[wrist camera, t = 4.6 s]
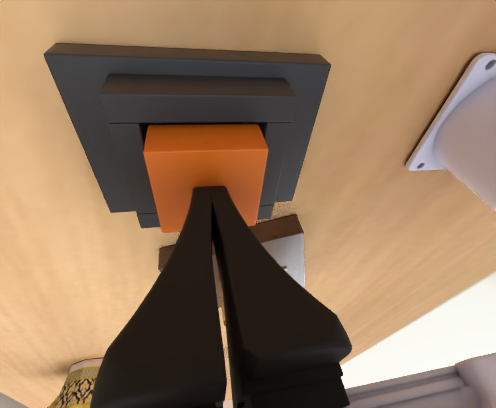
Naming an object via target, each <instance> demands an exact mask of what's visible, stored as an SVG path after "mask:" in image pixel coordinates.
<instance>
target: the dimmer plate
mask: <svg viewBox="0 0 496 408" xmlns="http://www.w3.org/2000/svg"><path fill="white" fill-rule="evenodd" d="M248 227H249V228H250V230H251V231H252V232H253V234H254V235H255V236H256V238H257V239H258V240H259V242H260V243H261V244H262V245H263V247H264V248H265V249H266V250H267V251H268V253H269V254H270V255H271V256H272V257H273V258H274V259H275V260H276V262H277V263H278V264H279V265H280V266H281V267H282V268H283V269H284V270H285V271H286V272H287V273H288V274H289V275H290V276H291V277H292V278H293V279H294V280H295V281H296V282H297V283H299V284H300V285H301V286H302V287H304V286H305V268H304V232H303V229H302V227H301V225H300V222H299V220H298V217H297V215H292V216H288V217H284V218H280V219H276V220H272V221H268V222H264V223H260V224H256V225H254V226H248ZM174 247H175V245H172V246H168V247H164V248H160V251H159V265H158V269H159V270H160V272H162V270H163V268H164V266H165V264H166V263H167V261H168V259H169V257H170V255H171V253H172V251H173V249H174ZM212 259H213V268H214V277H215V286H216V294H217V303H218V308H219V307H222V306H221V296H220V287H219V281H220V276H219V271H218V266H217V261H216V256H215V250H214V245H213V240H212Z"/></svg>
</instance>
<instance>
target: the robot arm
mask: <svg viewBox="0 0 496 408" xmlns="http://www.w3.org/2000/svg"><path fill="white" fill-rule="evenodd" d="M406 168H407V169H408V170H409V171H419V170H440V169H447V170H448V171H449V172H451V173H452V174H453V175H454V176H455V177H456V178H457V179H458V180H460V181H461V182H462V183H463V184H464V185H465V186H466V187H468V188H469V189H470V190H471V191H472V192H473V193H474V194H475V195H477V196H478V197H479V198H480V199H481V200H482V201H483V202H485V203H486V204H487V205H488V206H489V207H490V208H491V209H492V210H494V211H495V212H496V53H481V54H479V55H477V56H476V57H475V58H474V59H473V60H472V61H471V63H470V64H469V66H468V68H467V69H466V71H465V72H464V74H463V75H462V77H461V78H460V80H459V82H458V83H457V85H456V86H455V88H454V89H453V91H452V93H451V94H450V96H449V97H448V99H447V100H446V102H445V104H444V105H443V107H442V108H441V110H440V111H439V113H438V115H437V116H436V118H435V119H434V121H433V122H432V124H431V126H430V127H429V129H428V130H427V132H426V133H425V135H424V136H423V138H422V140H421V141H420V143H419V144H418V146H417V147H416V149H415V151H414V152H413V154H412V155H411V157H410V158H409V160H408V162H407V163H406ZM212 240H213V245H214V250H215V256H216V261H217V266H218V271H219V276H220V281H221V287H222V293H223V303H224V312H225V323H226V333H227V344H228V354H229V365H230V377H231V388H232V400H233V408H496V353H492V354H488V355H484V356H479V357H474V358H470V359H467V360H464V361H461V362H459V363H457V364H455V365H454V366H450V367H446V368H441V369H436V370H431V371H427V372H422V373H417V374H413V375H408V376H403V377H399V378H394V379H390V380H385V381H380V382H376V383H371V384H367V385H362V386H358V387H353V388H348V389H345V388H344V385H343V383H342V380H341V376H343V372H342V369H341V367H340V364H339V362H340V361H341V360H342V359H344V358H345V357H346V356H347V355H348V354H349V353H350V352H351V350H352V345H351V343H350V340H349V338H348V335H347V333H346V331H345V330H344V328H343V326H342V324H341V322H340V321H339V319H338V317H337V315H336V314H335V313H333V312H332V311H331V310H329V309H328V308H327V307H326V306H324V305H323V304H322V303H321V302H319V301H318V300H317V299H316V298H315V297H313V296H312V295H311V294H310V293H309V292H308V291H306V290H305V289H304V288H303V287H302V286H301V285H300V284H299V283H297V282H296V281H295V280H294V279H293V278H292V277H291V276H290V275H289V274H288V273H287V272H286V271H285V270H284V269H283V268H282V267H281V266H280V265H279V264H278V263H277V262H276V260H275V259H274V258H273V257H272V256H271V255H270V254H269V253H268V251H267V250H266V249H265V248H264V247H263V245H262V244H261V243H260V242H259V240H258V239H257V238H256V236H255V235H254V234H253V232H252V231H251V230H250V228H249V227H248V225H247V224H246V222H245V221H244V219H243V218H242V216H241V214H240V213H239V211H238V209H237V208H236V206H235V204H234V202H233V200H232V198H231V196H230V194H229V192H228V190H227V187H226V186H224V185H223V186H204V187H195V188H193V189H192V198H191V203H190V207H189V210H188V214H187V216H186V219H185V222H184V225H183V228H182V230H181V233H180V235H179V237H178V240H177V242H176V244H175V247H174V249H173V251H172V253H171V255H170V257H169V259H168V261H167V263H166V264H165V266H164V268H163V270H162V272H161V273H160V275H159V277H158V278H157V280H156V282H155V283H154V285H153V287H152V288H151V290H150V291H149V293H148V294H147V296H146V297H145V299H144V300H143V302H142V303H141V305H140V306H139V308H138V309H137V311H136V312H135V314H134V315H133V316H132V318H131V319H130V320H129V322H128V323H127V324H126V326H125V327H124V328H123V330H122V331H121V332H120V333H119V335H118V336H117V337H116V339H115V340H114V341H113V343H112V344H111V345H110V346H109V348H108V349H107V351H106V354H105V356H104V358H103V361H102V363H101V366H100V368H99V371H98V374H97V378H96V381H95V384H94V388H93V393H92V399H91V404H90V408H223V401H225V393H226V385H227V378H226V369H225V359H224V351H223V343H222V335H221V327H220V319H219V311H218V303H217V294H216V286H215V277H214V268H213V259H212Z"/></svg>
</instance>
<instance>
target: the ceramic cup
mask: <svg viewBox="0 0 496 408" xmlns="http://www.w3.org/2000/svg"><path fill="white" fill-rule="evenodd" d="M102 361H103V358H101V359H89V360H84V361H81V362H79V363H76V364H74V365H72V367H71V369H70V371H69V374H68V376H67V379H66V381H65V383H64V386H63V388H62V390H61V392H60V394H59V396H57V398H56V399H55V400H54V402H53V403H52V404H51V405H50V406H49V407H47V408H90V404H91V399H92V393H93V388H94V384H95V381H96V378H97V374H98V371H99V368H100V366H101V363H102Z"/></svg>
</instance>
